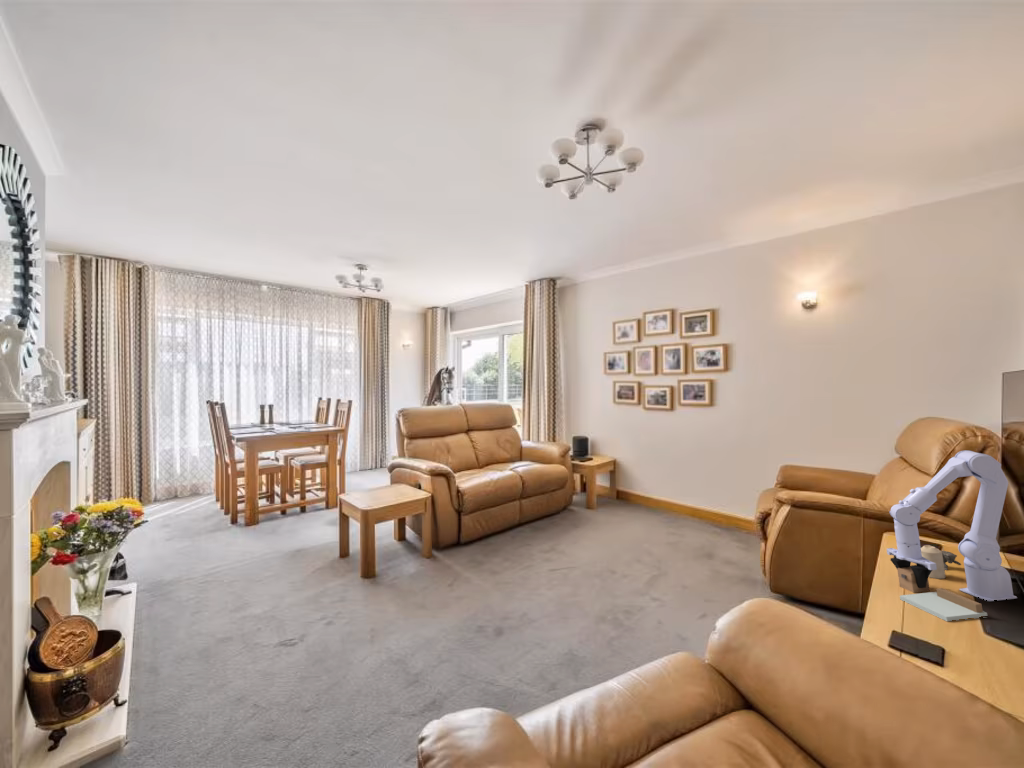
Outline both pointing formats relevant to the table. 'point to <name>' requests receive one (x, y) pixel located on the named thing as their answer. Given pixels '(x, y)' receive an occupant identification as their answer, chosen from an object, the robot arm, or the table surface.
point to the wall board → (945, 605)
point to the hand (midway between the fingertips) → (913, 584)
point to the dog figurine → (948, 558)
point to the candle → (934, 560)
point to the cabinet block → (909, 580)
